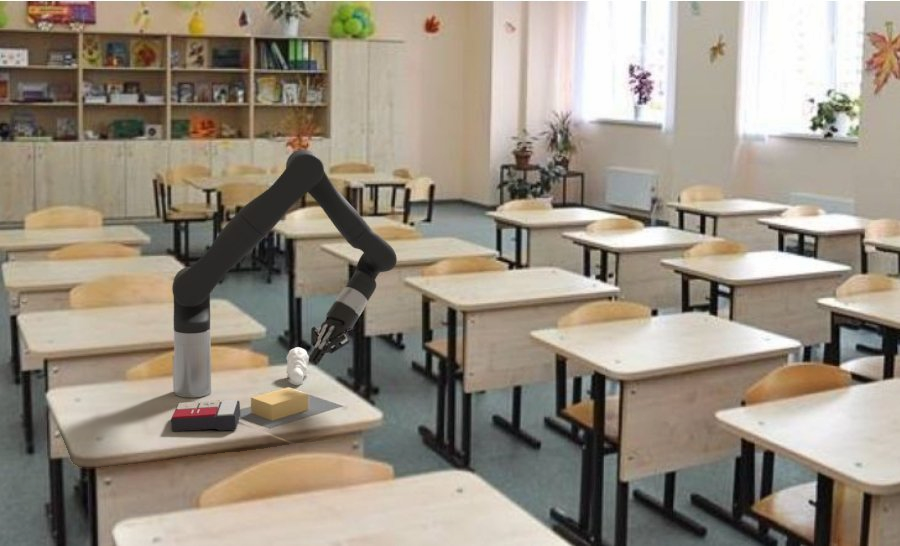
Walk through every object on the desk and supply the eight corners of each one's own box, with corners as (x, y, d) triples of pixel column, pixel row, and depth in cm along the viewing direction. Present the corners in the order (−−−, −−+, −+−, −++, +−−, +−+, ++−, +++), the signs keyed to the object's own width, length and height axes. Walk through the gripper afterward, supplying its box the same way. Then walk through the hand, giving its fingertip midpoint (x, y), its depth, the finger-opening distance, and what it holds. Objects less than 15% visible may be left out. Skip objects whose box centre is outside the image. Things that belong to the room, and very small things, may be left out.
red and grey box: (177, 401, 260) (239, 397, 261) (179, 417, 261) (240, 413, 262) (169, 416, 249) (234, 412, 250) (171, 434, 250) (236, 429, 251)
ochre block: (288, 402, 272) (251, 412, 263) (288, 387, 272) (250, 397, 263) (309, 409, 267) (271, 420, 258) (309, 394, 267) (271, 404, 258)
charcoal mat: (228, 414, 263) (228, 412, 263) (301, 393, 281) (301, 391, 281) (270, 430, 253) (270, 428, 253) (343, 407, 271) (343, 405, 271)
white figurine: (309, 345, 296) (308, 361, 284) (309, 373, 298) (308, 390, 287) (286, 345, 295) (284, 361, 284) (286, 373, 297) (284, 390, 286)
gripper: (322, 296, 279) (286, 350, 273) (357, 304, 271) (321, 360, 264) (337, 312, 284) (302, 365, 278) (372, 321, 276) (337, 376, 269)
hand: (312, 363), depth 271 cm, fingers closed
